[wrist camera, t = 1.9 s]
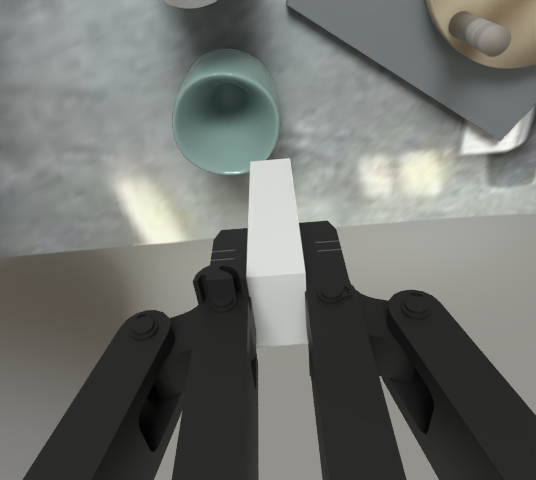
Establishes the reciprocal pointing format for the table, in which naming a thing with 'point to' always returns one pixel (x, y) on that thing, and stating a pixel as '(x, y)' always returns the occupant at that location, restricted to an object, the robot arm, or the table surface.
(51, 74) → the table surface
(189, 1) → the pill bottle
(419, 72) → the stand
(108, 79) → the table surface
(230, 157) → the cup
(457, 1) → the disc
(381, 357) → the robot arm
